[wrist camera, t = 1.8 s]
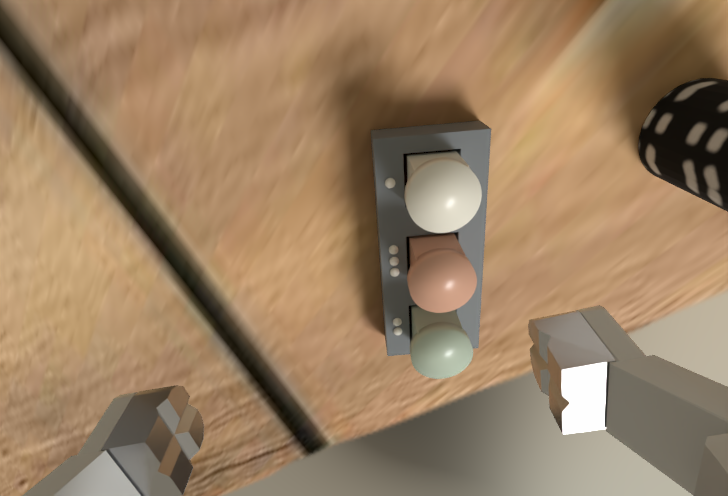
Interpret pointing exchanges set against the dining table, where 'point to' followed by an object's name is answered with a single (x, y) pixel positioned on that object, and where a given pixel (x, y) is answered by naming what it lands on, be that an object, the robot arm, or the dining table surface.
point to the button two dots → (438, 343)
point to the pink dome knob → (439, 273)
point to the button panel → (398, 224)
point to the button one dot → (441, 191)
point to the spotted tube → (690, 139)
